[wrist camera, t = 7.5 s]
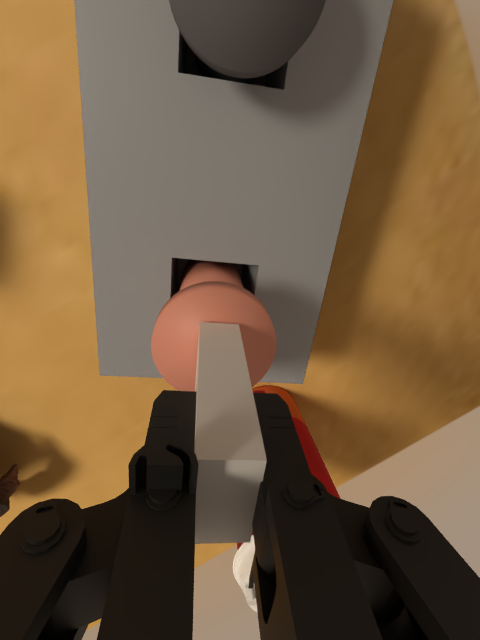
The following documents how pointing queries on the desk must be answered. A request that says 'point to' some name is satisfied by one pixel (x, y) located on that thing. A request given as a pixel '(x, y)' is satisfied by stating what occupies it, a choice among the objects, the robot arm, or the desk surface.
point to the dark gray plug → (244, 34)
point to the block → (217, 170)
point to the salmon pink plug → (215, 307)
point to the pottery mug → (8, 488)
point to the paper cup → (317, 469)
